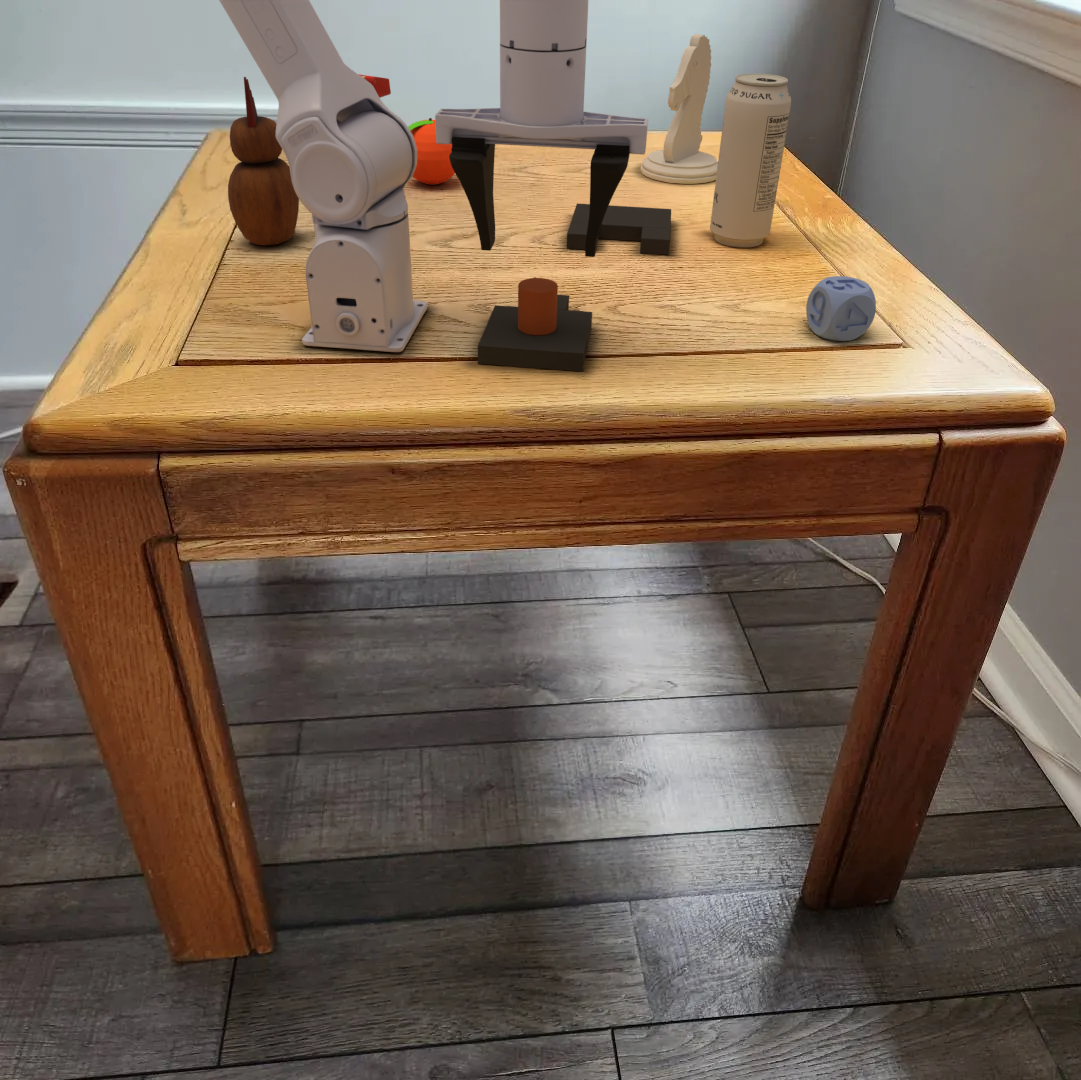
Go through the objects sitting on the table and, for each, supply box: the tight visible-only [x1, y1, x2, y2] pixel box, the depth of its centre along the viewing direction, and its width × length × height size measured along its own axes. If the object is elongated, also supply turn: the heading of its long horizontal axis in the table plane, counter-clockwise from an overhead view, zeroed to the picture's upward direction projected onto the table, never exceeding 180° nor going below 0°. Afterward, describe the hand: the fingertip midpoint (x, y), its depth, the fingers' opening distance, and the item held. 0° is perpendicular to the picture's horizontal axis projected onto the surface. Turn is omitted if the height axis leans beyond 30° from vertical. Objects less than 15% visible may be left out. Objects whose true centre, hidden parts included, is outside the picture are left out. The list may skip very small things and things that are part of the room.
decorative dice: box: [805, 275, 877, 342], centre depth 77 cm, size 4×4×4 cm
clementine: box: [407, 117, 456, 186], centre depth 108 cm, size 8×7×7 cm
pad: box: [477, 277, 593, 372], centre depth 75 cm, size 11×8×5 cm
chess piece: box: [640, 33, 718, 185], centre depth 112 cm, size 10×10×15 cm
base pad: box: [566, 202, 672, 256], centre depth 97 cm, size 10×10×2 cm
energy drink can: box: [709, 73, 792, 249], centre depth 93 cm, size 6×6×15 cm
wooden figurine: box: [227, 76, 300, 247], centre depth 89 cm, size 7×6×15 cm
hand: (539, 249), depth 71 cm, fingers open, 7 cm apart
